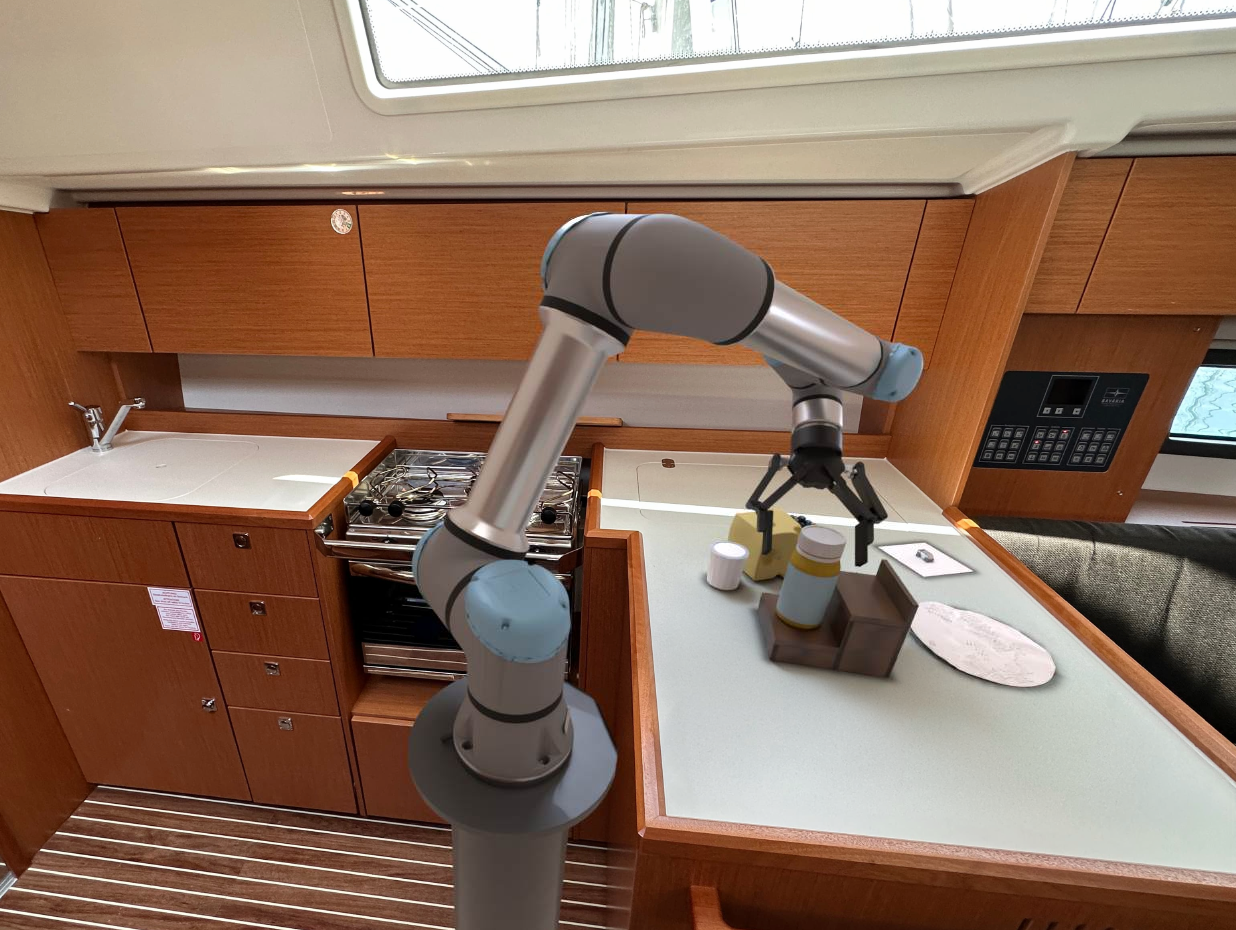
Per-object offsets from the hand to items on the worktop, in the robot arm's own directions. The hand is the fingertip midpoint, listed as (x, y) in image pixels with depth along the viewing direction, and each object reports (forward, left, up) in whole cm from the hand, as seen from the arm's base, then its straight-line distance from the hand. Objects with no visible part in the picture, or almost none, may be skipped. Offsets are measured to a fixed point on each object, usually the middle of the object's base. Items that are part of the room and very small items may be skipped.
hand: (813, 558), depth 89 cm
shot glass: (-9, +14, -15) cm, 22 cm away
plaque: (+30, +5, -14) cm, 33 cm away
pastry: (+7, +34, -15) cm, 37 cm away
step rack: (+5, -1, -14) cm, 15 cm away
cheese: (-1, +22, -14) cm, 26 cm away
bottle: (0, -1, -10) cm, 11 cm away
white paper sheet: (+33, +34, -14) cm, 49 cm away
